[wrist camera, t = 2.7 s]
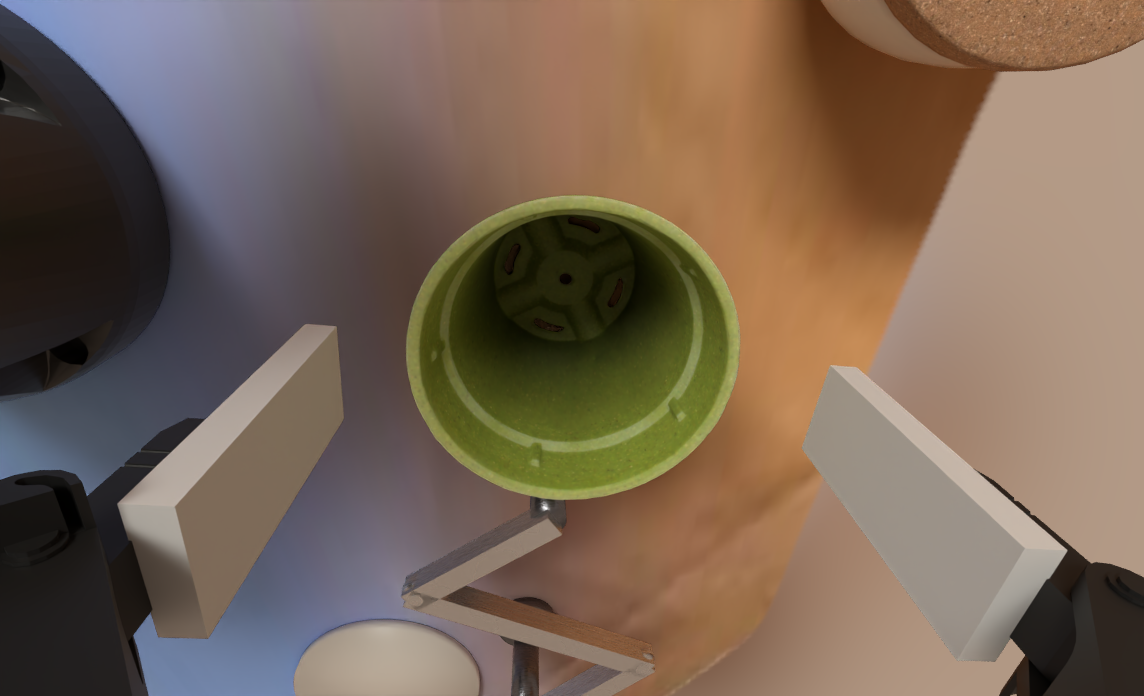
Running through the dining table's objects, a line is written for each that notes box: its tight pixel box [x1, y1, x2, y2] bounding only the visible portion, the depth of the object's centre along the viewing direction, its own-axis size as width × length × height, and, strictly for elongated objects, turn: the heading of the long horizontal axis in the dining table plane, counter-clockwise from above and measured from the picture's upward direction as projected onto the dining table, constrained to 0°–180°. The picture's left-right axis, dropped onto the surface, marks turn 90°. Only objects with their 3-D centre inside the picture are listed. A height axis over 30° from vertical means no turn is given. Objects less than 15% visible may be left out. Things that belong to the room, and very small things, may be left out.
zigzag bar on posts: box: [401, 496, 655, 696], centre depth 26 cm, size 11×16×7 cm
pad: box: [293, 619, 480, 696], centre depth 33 cm, size 11×11×1 cm
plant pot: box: [406, 195, 740, 500], centre depth 19 cm, size 9×9×9 cm
